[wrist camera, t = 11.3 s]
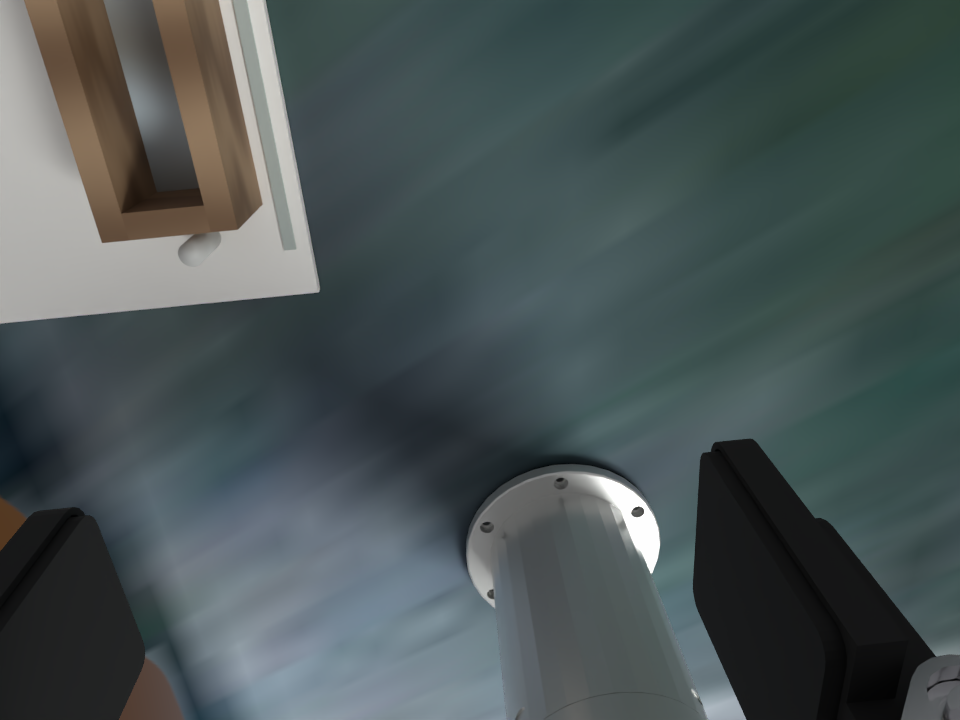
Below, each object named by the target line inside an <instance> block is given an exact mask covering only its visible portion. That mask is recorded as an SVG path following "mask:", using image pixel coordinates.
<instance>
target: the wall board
mask: <svg viewBox="0 0 960 720" xmlns="http://www.w3.org/2000/svg"><path fill="white" fill-rule="evenodd" d="M219 5H220V9H221V14H222V18H223V23H224V28H225V32H226V37H227V41H228V46H229V51H230V55H231V60H232V64H233V69H234V74H235V78H236V83H237V88H238V92H239V97H240V101H241V106H242V111H243V115H244V120H245V124H246V129H247V134H248V138H249V143H250V147H251V152H252V157H253V161H254V166H255V170H256V175H257V180H258V184H259V189H260V193H261V198H262V203H263V205H262V206H261V207H260V208H259V209H258V210H257V211H256V212H255V213H254V214H253V215H252V216H251V217H250V218H249V219H248V220H247V221H246V222H245V223H244V224H243V225H242V226H241V227H240V228H239V229H238V230H231V231H220V232H210V233H200V234H190V235H180V236H170V237H160V238H149V239H139V240H129V241H119V242H109V243H102V242H101V239H100V236H99V232H98V229H97V226H96V223H95V220H94V217H93V214H92V211H91V208H90V204H89V201H88V198H87V195H86V192H85V189H84V186H83V183H82V180H81V176H80V173H79V170H78V167H77V164H76V161H75V158H74V155H73V152H72V148H71V145H70V142H69V139H68V136H67V133H66V130H65V127H64V124H63V120H62V117H61V114H60V111H59V108H58V105H57V102H56V99H55V96H54V93H53V89H52V86H51V83H50V80H49V77H48V74H47V71H46V68H45V65H44V61H43V58H42V55H41V52H40V49H39V46H38V43H37V40H36V37H35V33H34V30H33V27H32V24H31V21H30V18H29V15H28V12H27V9H26V5H25V2H24V0H0V323H11V322H21V321H31V320H41V319H52V318H62V317H72V316H82V315H92V314H103V313H113V312H123V311H133V310H144V309H154V308H164V307H174V306H185V305H195V304H205V303H215V302H226V301H236V300H246V299H256V298H267V297H277V296H287V295H297V294H308V293H318V292H319V291H320V284H319V279H318V274H317V269H316V263H315V258H314V253H313V248H312V242H311V237H310V232H309V226H308V221H307V216H306V211H305V205H304V200H303V195H302V190H301V184H300V179H299V174H298V168H297V163H296V158H295V153H294V147H293V142H292V137H291V132H290V126H289V121H288V116H287V110H286V105H285V100H284V95H283V89H282V84H281V79H280V74H279V68H278V63H277V58H276V53H275V47H274V42H273V37H272V31H271V26H270V21H269V16H268V10H267V5H266V0H219Z"/></svg>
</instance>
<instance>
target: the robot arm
mask: <svg viewBox="0 0 960 720" xmlns="http://www.w3.org/2000/svg"><path fill="white" fill-rule="evenodd" d="M659 550H660V532H659V527H658V524H657V521H656V518H655V515H654V513H653V511H652V509H651V507H650V505H649V503H648V501H647V500H646V498H645V497H644V496H643V495H642V493H641V492H640V491H639V490H638V489H637V488H636V487H635V486H634V485H632V484H631V483H630V482H628V481H627V480H626V479H625V478H623V477H621V476H619V475H617V474H615V473H613V472H611V471H608V470H605V469H601V468H598V467H594V466H589V465H579V464H562V465H551V466H547V467H542V468H538V469H534V470H531V471H529V472H526V473H524V474H521V475H519V476H517V477H515V478H513V479H512V480H510V481H508V482H507V483H505V484H503V485H502V486H500V487H499V488H498V489H497V490H496V491H495V492H493V493H492V494H491V495H490V496H489V497H488V498H487V499H486V500H485V501H484V503H483V504H482V505H481V507H480V508H479V509H478V510H477V512H476V514H475V516H474V518H473V520H472V522H471V524H470V527H469V531H468V535H467V539H466V558H467V567H468V572H469V575H470V577H471V580H472V583H473V585H474V586H475V588H476V589H477V591H478V592H479V594H480V595H481V596H482V597H483V598H484V599H485V600H486V601H487V602H488V603H489V604H490V605H491V606H492V607H494V608H495V610H496V620H497V630H498V640H499V650H500V660H501V670H502V679H503V689H504V699H505V709H506V719H507V720H708V718H707V715H706V713H705V710H704V708H703V705H702V702H701V700H700V697H699V695H698V692H697V690H696V687H695V685H694V682H693V679H692V677H691V674H690V672H689V669H688V667H687V664H686V662H685V659H684V656H683V654H682V651H681V649H680V646H679V644H678V641H677V639H676V636H675V633H674V631H673V628H672V626H671V623H670V621H669V618H668V616H667V613H666V610H665V608H664V605H663V603H662V600H661V598H660V595H659V593H658V590H657V588H656V585H655V582H654V580H653V577H652V575H651V574H652V572H653V570H654V567H655V565H656V562H657V560H658V556H659ZM693 593H694V599H695V603H696V607H697V609H698V612H699V614H700V616H701V619H702V621H703V623H704V625H705V628H706V630H707V632H708V634H709V637H710V639H711V641H712V643H713V646H714V648H715V650H716V652H717V654H718V657H719V659H720V661H721V663H722V666H723V668H724V670H725V672H726V675H727V677H728V679H729V681H730V684H731V686H732V688H733V690H734V693H735V695H736V697H737V699H738V701H739V704H740V706H741V708H742V710H743V713H744V715H745V717H746V719H747V720H960V655H950V654H949V655H943V656H938V657H936V656H935V655H934V653H933V652H932V651H931V650H930V648H929V647H928V646H927V645H926V643H925V642H924V641H923V640H922V638H921V637H920V636H919V634H918V633H917V632H916V631H915V629H914V628H913V627H912V626H911V624H910V623H909V622H908V621H907V619H906V618H905V617H904V616H903V614H902V613H901V612H900V611H899V609H898V608H897V607H896V605H895V604H894V603H893V602H892V600H891V599H890V598H889V597H888V595H887V594H886V593H885V592H884V590H883V589H882V588H881V587H880V585H879V584H878V583H877V581H876V580H875V579H874V578H873V576H872V575H871V574H870V573H869V571H868V570H867V569H866V568H865V566H864V565H863V564H862V563H861V561H860V560H859V559H858V558H857V556H856V555H855V554H854V552H853V551H852V550H851V549H850V547H849V546H848V545H847V544H846V542H845V541H844V540H843V539H842V537H841V536H840V535H839V534H838V532H837V531H836V530H835V528H834V527H833V526H832V525H831V524H830V523H829V522H828V521H826V520H824V519H821V518H816V519H815V518H814V516H813V515H812V514H811V513H810V511H809V510H808V509H807V507H806V506H805V505H804V503H803V502H802V501H801V500H800V498H799V497H798V496H797V494H796V493H795V492H794V490H793V489H792V488H791V487H790V485H789V484H788V483H787V481H786V480H785V479H784V477H783V476H782V475H781V474H780V472H779V471H778V470H777V468H776V467H775V466H774V464H773V463H772V462H771V461H770V459H769V458H768V457H767V455H766V454H765V453H764V451H763V450H762V449H761V448H760V446H759V445H758V444H757V442H755V441H754V440H753V439H742V440H732V441H722V442H715V443H714V444H713V446H712V449H711V452H707V453H703V454H702V455H701V459H700V472H699V489H698V507H697V524H696V541H695V559H694V576H693ZM144 659H145V647H144V643H143V640H142V637H141V635H140V632H139V630H138V627H137V624H136V622H135V619H134V617H133V614H132V612H131V609H130V606H129V604H128V601H127V599H126V596H125V594H124V591H123V588H122V586H121V583H120V581H119V578H118V576H117V573H116V570H115V568H114V565H113V563H112V560H111V558H110V555H109V553H108V550H107V547H106V545H105V542H104V540H103V537H102V535H101V532H100V529H99V527H98V524H97V522H96V520H95V519H94V518H93V517H92V516H89V515H87V516H85V514H84V512H83V511H81V510H80V509H79V508H75V507H72V508H62V509H52V510H43V511H37V512H34V513H33V514H32V515H31V516H29V517H28V519H27V520H26V521H25V522H24V524H23V525H22V526H21V527H20V528H19V529H18V531H17V532H16V533H15V534H14V536H13V537H12V538H11V539H10V540H9V541H8V543H7V544H6V545H5V546H4V548H3V549H2V550H1V551H0V720H119V718H120V716H121V713H122V711H123V709H124V707H125V705H126V703H127V700H128V698H129V696H130V694H131V692H132V689H133V687H134V685H135V683H136V681H137V679H138V676H139V674H140V672H141V669H142V667H143V664H144Z"/></svg>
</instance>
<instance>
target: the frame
mask: <svg viewBox="0 0 960 720" xmlns="http://www.w3.org/2000/svg"><path fill="white" fill-rule="evenodd" d="M24 2H25V5H26V9H27V12H28V15H29V18H30V21H31V24H32V27H33V30H34V33H35V37H36V40H37V43H38V46H39V49H40V52H41V55H42V58H43V61H44V65H45V68H46V71H47V74H48V77H49V80H50V83H51V86H52V89H53V93H54V96H55V99H56V102H57V105H58V108H59V111H60V114H61V117H62V120H63V124H64V127H65V130H66V133H67V136H68V139H69V142H70V145H71V148H72V152H73V155H74V158H75V161H76V164H77V167H78V170H79V173H80V176H81V180H82V183H83V186H84V189H85V192H86V195H87V198H88V201H89V204H90V208H91V211H92V214H93V217H94V220H95V223H96V226H97V229H98V232H99V236H100V239H101V242H102V243H109V242H119V241H129V240H139V239H149V238H160V237H170V236H180V235H190V234H200V233H210V232H220V231H231V230H238V229H239V228H240V227H241V226H242V225H243V224H244V223H245V222H246V221H247V220H248V219H249V218H250V217H251V216H252V215H253V214H254V213H255V212H256V211H257V210H258V209H259V208H260V207H261V206H262V205H263V203H262V198H261V193H260V189H259V184H258V180H257V175H256V170H255V166H254V161H253V157H252V152H251V147H250V143H249V138H248V134H247V129H246V124H245V120H244V115H243V111H242V106H241V101H240V97H239V92H238V88H237V83H236V78H235V74H234V69H233V64H232V60H231V55H230V51H229V46H228V41H227V37H226V32H225V28H224V23H223V18H222V14H221V9H220V5H219V0H24Z"/></svg>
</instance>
